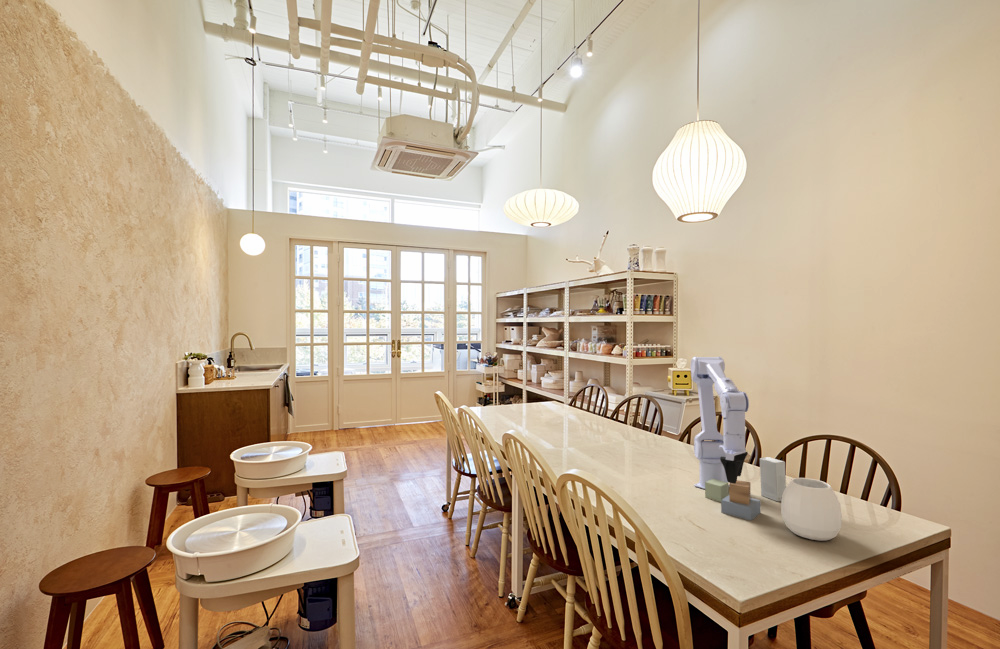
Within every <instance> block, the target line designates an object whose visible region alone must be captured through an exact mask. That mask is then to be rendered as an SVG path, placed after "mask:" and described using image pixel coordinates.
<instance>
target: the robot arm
mask: <svg viewBox="0 0 1000 649" xmlns="http://www.w3.org/2000/svg"><path fill="white" fill-rule="evenodd" d="M689 366H690V376H691V377H690V378H691V381H692V382H694V383H695V384H696V387H697V393H698V402H699V404H698V406H699V413H700V423H701V431H700V432H699V433H697V434H696V435H695V436H694V438H693V439H694V440H693V442H694V443H693V454H694V457H696V459H697V460H699V482H697V483H694V484H693V486H694V487H697V488H699V489H703V490H705V482H706V481H709V480H711V479H716V480H719V481H723V482H727V483H728V488H729V484H730V483H735V484H736V481H737V480H738V477H741V475H742V471H743V466H744V464H745V459H746V457H747V456H748V454H749V453H748V451H747V449H746V413H747V412H748V411H749V407H750V400H749V396H748V395H747V393H746V392H745V391H740V390H739V389H738V387H737V386H736V385H735V383H734V381H733V380H732V378H729V377H727V376H726V374H725V370H726V363H725V361H724V358H723V357H722V356H693V357H692V358H691V360H690V365H689ZM713 388H714V389H713ZM714 391H715V392H716V394H717V395H718V397H719V405H720V408H721V417H722V418H723V427H722V428H723V434H722V433H720V432H719V431H718V425H717V416H716V407H715V398H714Z"/></svg>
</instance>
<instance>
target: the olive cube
mask: <svg viewBox="0 0 1000 649" xmlns="http://www.w3.org/2000/svg"><path fill="white" fill-rule="evenodd" d="M728 485H729V482H728V483H727V482H723V481H719V480H716V479H711V480H709V481H706V482H705V489H704V498H705V499H710V500H713V501H715V502H720V503H721V500H722V499H724V498H725V497H727V496H728V495H729V487H728Z"/></svg>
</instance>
